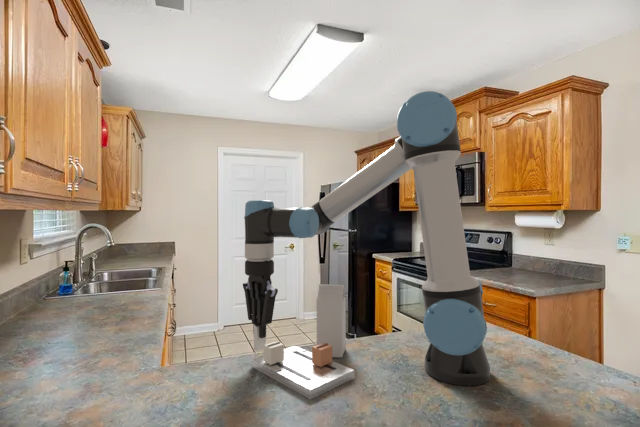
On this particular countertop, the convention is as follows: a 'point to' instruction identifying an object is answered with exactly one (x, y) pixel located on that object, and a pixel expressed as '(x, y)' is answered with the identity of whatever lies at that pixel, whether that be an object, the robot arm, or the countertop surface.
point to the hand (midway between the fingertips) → (259, 349)
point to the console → (304, 372)
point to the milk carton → (332, 318)
